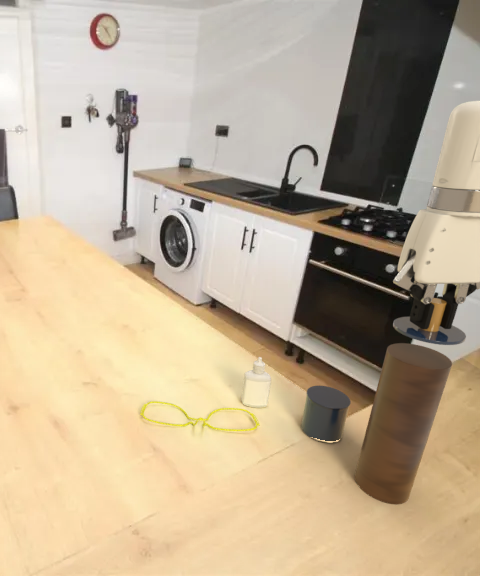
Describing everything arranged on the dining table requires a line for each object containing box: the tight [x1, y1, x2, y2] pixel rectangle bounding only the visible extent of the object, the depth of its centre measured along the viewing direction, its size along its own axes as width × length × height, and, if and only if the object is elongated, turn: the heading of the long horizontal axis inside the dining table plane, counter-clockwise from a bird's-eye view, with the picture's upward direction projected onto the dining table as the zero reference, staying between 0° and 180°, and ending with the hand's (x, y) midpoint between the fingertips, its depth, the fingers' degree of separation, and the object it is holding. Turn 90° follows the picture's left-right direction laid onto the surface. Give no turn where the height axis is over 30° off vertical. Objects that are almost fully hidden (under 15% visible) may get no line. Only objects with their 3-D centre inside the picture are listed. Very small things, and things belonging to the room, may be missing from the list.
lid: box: [392, 297, 467, 346], centre depth 61 cm, size 9×9×5 cm
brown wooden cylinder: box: [354, 342, 453, 505], centre depth 67 cm, size 8×8×26 cm
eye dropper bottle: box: [240, 356, 272, 409], centre depth 92 cm, size 4×6×12 cm
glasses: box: [139, 400, 260, 432], centre depth 88 cm, size 25×10×5 cm, turn 80°
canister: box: [300, 385, 351, 441], centre depth 84 cm, size 8×8×8 cm
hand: (429, 324), depth 61 cm, fingers closed on lid, 2 cm apart
